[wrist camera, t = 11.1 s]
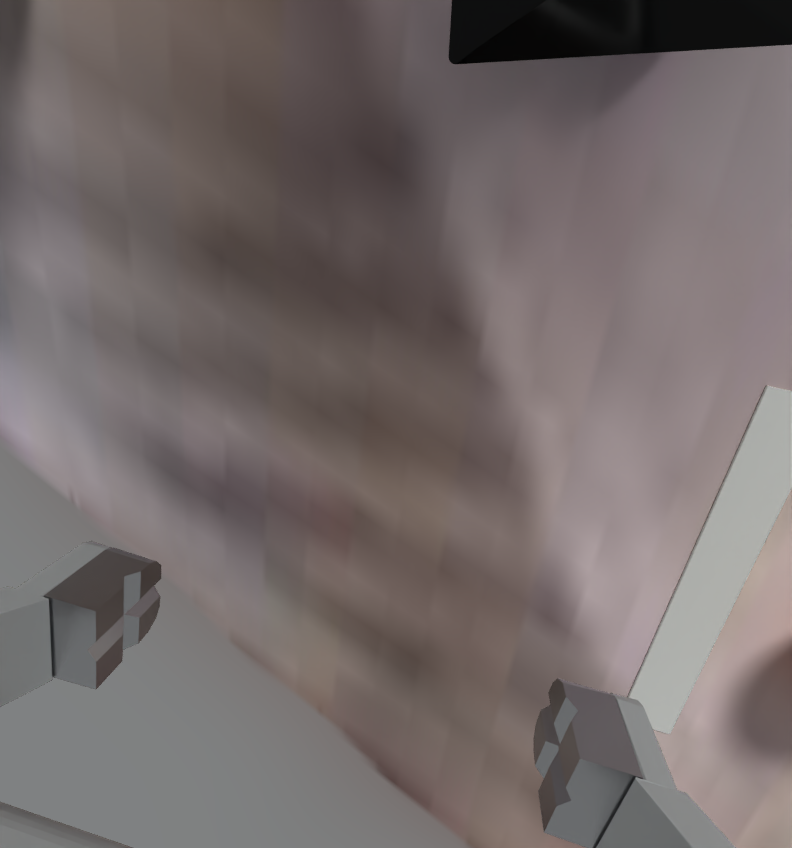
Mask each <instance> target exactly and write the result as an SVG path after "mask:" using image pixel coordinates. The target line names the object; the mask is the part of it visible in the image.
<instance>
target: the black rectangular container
mask: <svg viewBox="0 0 792 848" xmlns="http://www.w3.org/2000/svg"><path fill="white" fill-rule="evenodd" d="M775 45H792V0H452V12H451V28H450V45H449V60H450V62H451V63H453V64H467V63H484V62H501V61H518V60H535V59H552V58H569V57H587V56H604V55H621V54H638V53H655V52H672V51H689V50H707V49H724V48H741V47H758V46H775Z"/></svg>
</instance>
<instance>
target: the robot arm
mask: <svg viewBox="0 0 792 848" xmlns="http://www.w3.org/2000/svg"><path fill="white" fill-rule="evenodd" d="M160 579H161V565H160V564H159V563H158V562H157V561H154V560H151V559H148V558H145V557H142V556H138V555H135V554H132V553H129V552H126V551H123V550H120V549H117V548H111V547H108V546H105V545H102V544H99V543H96V542H93V541H89V542H84V543H82V544H81V545H79V546H77V547H76V548H75V549H73V550H71V551H70V552H69V553H67V554H66V555H64V556H63V557H61V558H60V559H58V560H57V561H55V562H54V563H52V564H51V565H49V566H48V567H46V568H45V569H43V570H42V571H41V572H39V573H38V574H36V575H35V576H33V577H32V578H30V579H29V580H27V581H26V582H24V583H23V584H21V585H20V586H18V587H17V588H12V587H9V586H7V587H4V588H0V707H1V706H3V705H5V704H7V703H9V702H11V701H13V700H15V699H17V698H18V697H20V696H22V695H24V694H26V693H28V692H30V691H32V690H34V689H36V688H38V687H40V686H42V685H44V684H45V683H48V682H50V681H52V678H53V677H54V678H58V679H61V680H65V681H68V682H71V683H75V684H79V685H82V686H86V687H89V688H93V689H97V688H98V687H99V686H100V685H101V684H102V682H103V681H104V680H105V679H106V678H107V677H108V676H109V675H110V674H111V673H112V672H113V670H114V669H115V668H116V667H117V666H118V665H119V664H120V663H121V662H122V656H123V650H124V649H126V648H128V647H131V646H133V645H135V644H138V643H139V642H140V641H141V640H142V639H143V637H144V636H145V635H146V634H147V633H148V631H149V630H150V627H151V626H152V624H153V622H154V621H155V619H156V616H157V613H158V609H159V606H160V595H159V593H158V592H157V590H156V588H155V586H154V585H155V584H156V583H157V582H158V581H159V580H160ZM548 693H549V699H550V705H549V706H547V707H545V708H543V709H541V711H540V714H539V716H538V719H537V722H536V726H535V732H534V739H533V741H534V760H535V766H536V768H537V769H538V771H539V772H540V774H541V775H542V777H543V778H544V780H543V782H542V784H541V786H540V789H539V791H538V792H539V799H540V807H541V814H542V821H543V829H544V833H547V834H550V835H553V836H555V837H558V838H561V839H564V840H567V841H570V842H573V843H575V844H578V845H581V846H584V847H587V848H736V847H735V846H734V845H733V844H732V843H731V842H730V841H729V840H728V838H727V837H726V836H725V835H724V834H723V833H722V832H721V831H720V830H719V828H718V827H717V826H716V825H715V824H714V823H713V822H712V821H711V820H710V819H709V817H708V816H707V815H706V814H705V813H704V812H703V811H702V810H701V809H700V807H699V806H698V805H697V804H696V803H695V802H694V801H693V800H692V799H691V798H690V796H689V795H688V794H687V793H685V792H682V791H679V790H677V788H676V785H675V783H674V780H673V778H672V775H671V773H670V770H669V768H668V766H667V763H666V761H665V758H664V756H663V753H662V751H661V748H660V746H659V743H658V741H657V739H656V736H655V734H654V731H653V729H652V726H651V724H650V721H649V719H648V716H647V714H646V712H645V709H644V707H643V705H642V704H641V703H640V702H639V701H638V700H635V699H632V698H628V697H624V696H621V695H617V694H613V693H608V692H605V691H601V690H598V689H594V688H591V687H587V686H584V685H580V684H577V683H573V682H570V681H566V680H562V679H559V678H557V679H556V680H555V681H554V682H553V684H552V686H551V688H550V690H549V692H548ZM0 848H132V847H129V846H126V845H123V844H121V843H118V842H115V841H112V840H109V839H106V838H103V837H100V836H98V835H95V834H92V833H89V832H86V831H83V830H80V829H77V828H74V827H72V826H69V825H66V824H63V823H60V822H57V821H54V820H51V819H49V818H45V817H42V816H40V815H37V814H34V813H31V812H28V811H25V810H23V809H20V808H17V807H14V806H11V805H8V804H5V803H2V802H0Z"/></svg>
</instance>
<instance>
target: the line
mask: <svg viewBox="0 0 792 848" xmlns="http://www.w3.org/2000/svg"><path fill="white" fill-rule="evenodd" d="M791 488H792V391H790V390H785V389H780V388H776V387H771V386H766V387H765V389H764V391H763V393H762V396H761V398H760V400H759V402H758V405H757V407H756V409H755V411H754V414H753V416H752V418H751V420H750V423H749V425H748V427H747V429H746V432H745V434H744V436H743V438H742V441H741V443H740V445H739V447H738V450H737V452H736V454H735V456H734V459H733V461H732V463H731V465H730V468H729V470H728V472H727V474H726V477H725V479H724V481H723V483H722V486H721V488H720V490H719V492H718V495H717V497H716V499H715V501H714V504H713V506H712V508H711V510H710V513H709V515H708V517H707V519H706V522H705V524H704V526H703V528H702V531H701V533H700V535H699V537H698V540H697V542H696V544H695V546H694V549H693V551H692V553H691V555H690V558H689V560H688V562H687V564H686V567H685V569H684V571H683V573H682V576H681V578H680V580H679V582H678V585H677V587H676V589H675V591H674V594H673V596H672V598H671V600H670V603H669V605H668V607H667V609H666V612H665V614H664V616H663V618H662V621H661V623H660V625H659V627H658V630H657V632H656V634H655V636H654V639H653V641H652V643H651V645H650V648H649V650H648V652H647V654H646V657H645V659H644V661H643V663H642V665H641V668H640V670H639V672H638V674H637V677H636V679H635V681H634V683H633V686H632V688H631V690H630V692H629V695H628V698H632V699H635V700H638V701H639V702H640V703H641V704H642V705H643V707H644V709H645V712H646V714H647V716H648V719H649V721H650V724H651V726H652V729H653V730H656V731H660V732H663V733H667V734H670V733H671V731H672V729H673V727H674V725H675V723H676V721H677V719H678V717H679V715H680V713H681V711H682V709H683V707H684V705H685V703H686V701H687V699H688V697H689V695H690V693H691V691H692V689H693V686H694V684H695V682H696V680H697V678H698V676H699V674H700V672H701V670H702V668H703V666H704V664H705V662H706V660H707V658H708V656H709V654H710V652H711V650H712V648H713V646H714V644H715V642H716V640H717V638H718V636H719V634H720V632H721V630H722V628H723V626H724V624H725V622H726V620H727V618H728V616H729V614H730V612H731V610H732V608H733V606H734V604H735V602H736V600H737V598H738V596H739V594H740V591H741V589H742V587H743V585H744V583H745V581H746V579H747V577H748V575H749V573H750V571H751V569H752V567H753V565H754V563H755V561H756V559H757V557H758V555H759V553H760V551H761V549H762V547H763V545H764V543H765V541H766V539H767V537H768V535H769V533H770V531H771V529H772V527H773V525H774V523H775V521H776V519H777V517H778V515H779V513H780V511H781V509H782V507H783V505H784V503H785V501H786V499H787V496H788V494H789V492H790V490H791Z"/></svg>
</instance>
